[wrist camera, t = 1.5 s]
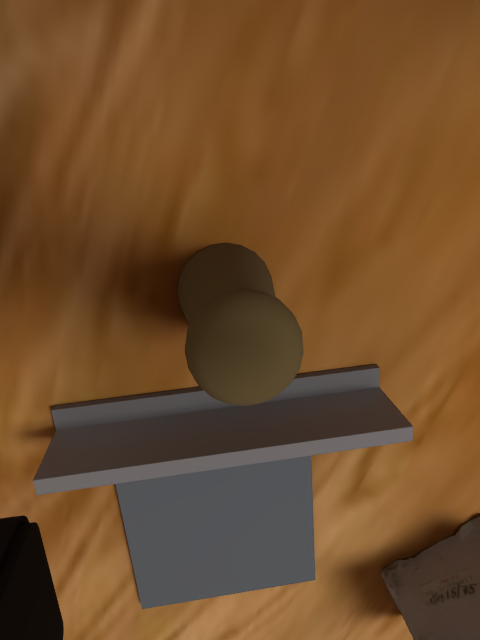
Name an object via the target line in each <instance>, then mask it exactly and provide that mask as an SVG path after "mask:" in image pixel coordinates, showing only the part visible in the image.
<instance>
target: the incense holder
mask: <svg viewBox="0 0 480 640" xmlns="http://www.w3.org/2000/svg"><path fill="white" fill-rule="evenodd" d="M381 577H382V578H383V580H384V582H385V584H386V586H387V588H388V590H389V592H390V594H391V595H392V598H393V600H394V601H395V603H396V605H397V607H398V609H399V611H400V612H401V615H402V616H403V618H404V620H405V622H406V624H407V626H408V628H409V631H410V633H411V634H412V636H413V639H414V640H480V516H477V517H476V518H474V519H472V520H470V521H468V522H466V523H465V524H463V525H462V526H461V527H460V528H459V531H458V532H457V533H456V535H453V536H450V537H448V538H446V539H444V540H442V541H440V542H438V543H436V544H435V545H433V546H431V547H429V548H428V549H426V550H424V551H423V552H421V553H420V554H419V555H417V556H415V557H414V558H408V559H407V560H400V559H399V560H397V561H395V562H393V563H392V564H390V565H389V566H387V567H386V568H384V569H383V570H382V572H381Z"/></svg>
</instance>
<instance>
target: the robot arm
mask: <svg viewBox="0 0 480 640" xmlns="http://www.w3.org/2000/svg"><path fill="white" fill-rule="evenodd" d="M0 640H63V620H62V616H61V612H60V608H59V604H58V601H57V597H56V593H55V589H54V585H53V581H52V577H51V573H50V569H49V565H48V561H47V557H46V554H45V550H44V546H43V542H42V538H41V534H40V530H39V527H38V524H37V523H35V522H34V523H29V521H28V518H27V517H26V516H17V517H9V518H1V519H0Z"/></svg>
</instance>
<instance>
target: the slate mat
mask: <svg viewBox="0 0 480 640" xmlns="http://www.w3.org/2000/svg"><path fill="white" fill-rule="evenodd" d="M115 485H116V489H117V494H118V499H119V503H120V508H121V513H122V517H123V522H124V527H125V531H126V536H127V541H128V546H129V550H130V555H131V560H132V564H133V569H134V574H135V578H136V583H137V588H138V592H139V597H140V602H141V606H142V609H146V608H152V607H157V606H163V605H169V604H175V603H181V602H187V601H193V600H199V599H205V598H211V597H217V596H223V595H229V594H235V593H241V592H246V591H252V590H258V589H264V588H270V587H276V586H282V585H288V584H294V583H300V582H306V581H312V580H315V558H314V528H313V498H312V467H311V456H304V457H297V458H290V459H283V460H276V461H269V462H263V463H256V464H249V465H242V466H235V467H228V468H221V469H214V470H207V471H200V472H194V473H187V474H180V475H173V476H166V477H159V478H152V479H145V480H138V481H131V482H124V483H118V484H115Z"/></svg>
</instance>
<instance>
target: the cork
mask: <svg viewBox="0 0 480 640" xmlns="http://www.w3.org/2000/svg"><path fill="white" fill-rule="evenodd" d="M177 293H178V298H179V303H180V307H181V309H182V311H183V313H184V315H185V318H186V320H187V322H188V324H189V328H188V330H187V337H186V343H185V354H186V359H187V364H188V369H189V370H190V372H191V374H192V375H193V377H194V379H195V381H196V382H197V384H198V385H199V387H200V388H201V389H203V390H204V391H205V392H206V393H207V394H209V395H210V396H211V397H212V398H214V399H217V400H219V401H221V402H224V403H226V404H230V405H241V406H248V405H254V404H259V403H263V402H265V401H267V400H269V399H272V398H274V397H276V396H277V395H279V394H280V393H281V392H282V391H283V390H284V389H285V388H287V387H288V386H289V385H290V384H291V382H292V381H293V379H294V377H295V376H296V374H297V373H298V371H299V369H300V365H301V361H302V357H303V341H302V331H301V329H300V327H299V325H298V322H297V320H296V318H295V316H294V315H293V313H292V312H291V311H290V310H289V309H288V308H287V307H286V306H285V305H284V304H283V303H282V302H281V301H280V300H279V299H277V298H276V297H275V292H274V288H273V283H272V278H271V275H270V273H269V271H268V268H267V266H266V264H265V262H264V261H263V260H262V259H261V258H260V257H259V256H258V255H257V254H256V253H255V252H253V251H251V250H249V249H248V248H246V247H244V246H242V245H237V244H230V243H222V244H215V245H210V246H208V247H206V248H204V249H202V250H200V251H198V252H197V253H196V254H195V255H194V256H193V257H192V258H191V259H190V260H189V261H188V262H187V263H186V264H185V266H184V268H183V270H182V272H181V274H180V276H179V282H178V289H177Z"/></svg>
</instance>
